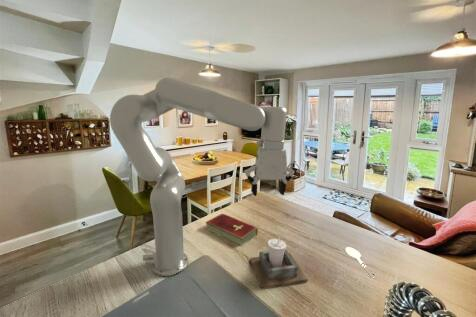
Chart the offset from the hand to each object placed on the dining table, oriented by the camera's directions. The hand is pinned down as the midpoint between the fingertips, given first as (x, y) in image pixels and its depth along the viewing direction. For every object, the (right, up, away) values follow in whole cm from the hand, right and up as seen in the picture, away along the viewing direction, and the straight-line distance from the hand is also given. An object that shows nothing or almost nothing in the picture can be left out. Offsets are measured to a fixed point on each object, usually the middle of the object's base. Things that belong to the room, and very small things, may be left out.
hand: (268, 194), depth 81 cm
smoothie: (+3, -27, +2) cm, 27 cm away
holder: (+3, -27, +2) cm, 28 cm away
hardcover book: (-14, -22, +27) cm, 37 cm away
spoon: (+36, -27, +8) cm, 46 cm away
